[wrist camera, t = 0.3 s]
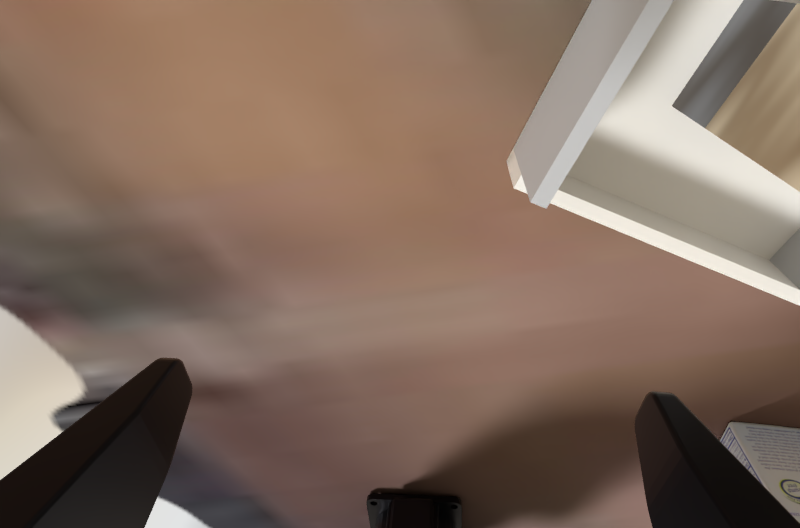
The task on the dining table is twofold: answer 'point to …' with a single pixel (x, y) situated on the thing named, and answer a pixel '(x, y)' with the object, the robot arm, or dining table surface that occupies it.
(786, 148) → the birch block
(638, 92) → the white open box
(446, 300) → the dining table surface
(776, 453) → the medicine box
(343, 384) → the dining table surface
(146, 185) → the dining table surface
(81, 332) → the dining table surface
